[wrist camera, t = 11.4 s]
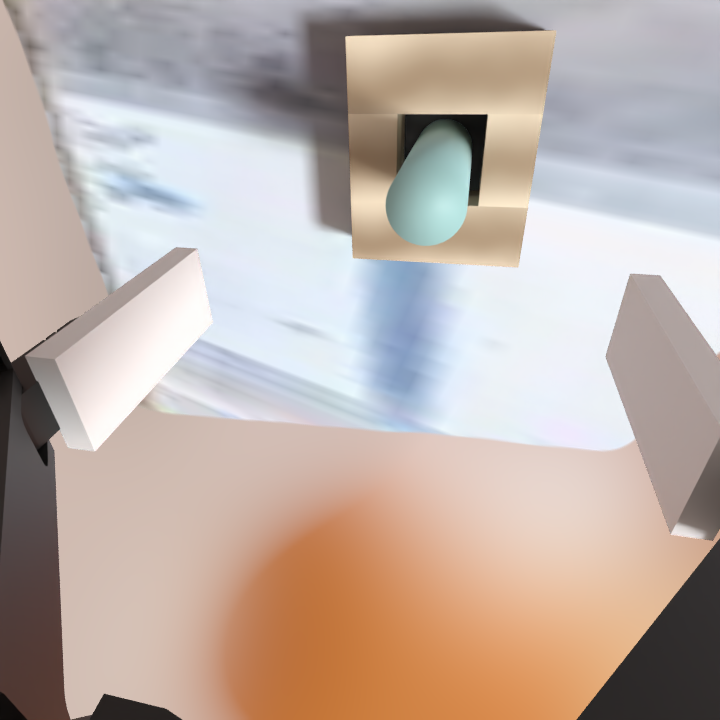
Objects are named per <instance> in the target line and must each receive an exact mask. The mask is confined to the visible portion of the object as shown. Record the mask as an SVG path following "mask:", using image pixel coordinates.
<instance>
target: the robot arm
mask: <svg viewBox="0 0 720 720" xmlns="http://www.w3.org/2000/svg"><path fill="white" fill-rule="evenodd" d="M212 323H213V320H212V316H211V311H210V306H209V301H208V297H207V292H206V287H205V283H204V278H203V273H202V268H201V264H200V259H199V254H198V250H197V249H195V248H178V247H176V248H174V249H173V250H172V251H170V252H169V253H167V254H166V255H165V256H163V257H162V258H160V259H159V260H158V261H156V262H155V263H154V264H152V265H151V266H149V267H148V268H147V269H145V270H144V271H142V272H141V273H140V274H138V275H137V276H135V277H134V278H133V279H131V280H130V281H128V282H127V283H126V284H124V285H123V286H122V287H120V288H119V289H117V290H116V291H115V292H113V293H112V294H110V295H109V296H108V297H106V298H105V299H103V300H102V301H101V302H99V303H98V304H96V305H95V306H94V307H92V308H91V309H90V310H88V311H87V312H85V313H84V314H83V315H81V316H80V317H78V318H75V319H73V320H71V321H69V322H68V323H66V324H65V325H64V326H62V327H61V328H60V329H58V330H57V332H54V333H52V334H51V335H50V336H48V337H47V338H46V340H43V341H41V342H40V343H39V344H37V345H36V346H34V347H33V348H32V349H30V350H29V351H27V352H26V353H24V354H23V355H22V356H20V357H19V358H17V359H16V360H15V361H13V362H12V363H11V362H10V360H9V358H8V356H7V354H6V352H5V350H4V348H3V346H2V344H1V342H0V720H70V717H69V714H68V711H67V707H66V702H65V694H64V676H63V675H64V674H63V650H62V627H61V604H60V603H61V602H60V577H59V555H58V529H57V506H56V481H55V457H54V450H53V447H52V445H51V443H50V441H49V439H50V438H51V437H52V436H53V435H54V434H55V433H56V432H57V431H58V430H60V432H61V433H62V436H63V438H64V440H65V442H66V444H67V446H68V448H74V449H80V450H88V451H96V450H97V449H98V448H99V447H100V445H101V444H102V443H103V442H104V441H105V440H106V439H107V438H108V437H109V436H110V434H111V433H112V432H113V431H114V430H115V429H116V428H117V427H118V426H119V425H120V423H121V422H122V421H123V420H124V419H125V418H126V417H127V416H128V415H129V414H130V413H131V412H132V410H133V409H134V408H135V407H136V406H137V405H138V404H139V403H140V402H141V401H142V400H143V398H144V397H145V396H146V395H147V394H148V393H149V392H150V391H151V390H152V389H153V388H154V386H155V385H156V384H157V383H158V382H159V381H160V380H161V379H162V378H163V377H164V375H165V374H166V373H167V372H168V371H169V370H170V369H171V368H172V367H173V366H174V365H175V363H176V362H177V361H178V360H179V359H180V358H181V357H182V356H183V355H184V354H185V353H186V351H187V350H188V349H189V348H190V347H191V346H192V345H193V344H194V343H195V342H196V340H197V339H198V338H199V337H200V336H201V335H202V334H203V333H204V332H205V331H206V330H207V328H208V327H209V326H210V325H211V324H212ZM605 357H606V359H607V362H608V365H609V367H610V370H611V373H612V376H613V378H614V381H615V384H616V387H617V389H618V392H619V395H620V397H621V400H622V403H623V406H624V408H625V411H626V414H627V417H628V419H629V422H630V425H631V427H632V430H633V433H634V436H635V438H636V441H637V444H638V447H639V449H640V452H641V455H642V457H643V460H644V463H645V466H646V468H647V471H648V474H649V477H650V479H651V482H652V485H653V487H654V490H655V493H656V496H657V498H658V501H659V504H660V507H661V509H662V512H663V515H664V517H665V520H666V523H667V526H668V528H669V531H670V534H671V535H677V536H684V537H691V538H698V539H705V540H712V541H713V540H714V538H715V536H716V534H717V533H718V531H719V529H720V360H719V358H718V357H717V356H716V354H715V353H714V351H713V350H712V349H711V347H710V346H709V344H708V343H707V341H706V340H705V339H704V337H703V336H702V334H701V333H700V331H699V330H698V329H697V327H696V326H695V324H694V323H693V322H692V320H691V319H690V317H689V316H688V314H687V313H686V312H685V310H684V309H683V307H682V306H681V304H680V303H679V302H678V300H677V299H676V297H675V296H674V295H673V293H672V292H671V290H670V289H669V287H668V286H667V285H666V283H665V282H664V280H663V279H662V278H661V276H660V275H643V274H630V276H629V279H628V283H627V286H626V289H625V293H624V296H623V300H622V303H621V306H620V310H619V313H618V316H617V320H616V323H615V326H614V330H613V333H612V336H611V340H610V343H609V346H608V350H607V353H606V356H605ZM72 720H182V719H180V718H179V717H177V716H176V715H174V714H173V713H171V712H170V711H169V710H167V709H165V708H160V707H156V706H152V705H148V704H144V703H140V702H136V701H132V700H128V699H124V698H119V697H115V696H111V695H107V694H104V695H103V697H102V698H101V700H100V702H99V704H98V705H97V707H96V709H95V711H94V712H93V714H92V715H90V716H85V717H81V718H76V719H72ZM577 720H720V539H719V540H718V542H717V543H716V544H715V545H714V547H713V548H712V549H711V550H710V552H709V553H708V554H707V555H706V557H705V558H704V559H703V561H702V562H701V563H700V564H699V566H698V567H697V568H696V569H695V571H694V572H693V573H692V574H691V576H690V577H689V578H688V580H687V581H686V582H685V583H684V585H683V586H682V587H681V588H680V590H679V591H678V592H677V593H676V595H675V596H674V597H673V598H672V600H671V601H670V602H669V604H668V605H667V606H666V607H665V609H664V610H663V611H662V612H661V614H660V615H659V616H658V618H657V619H656V620H655V621H654V623H653V624H652V625H651V626H650V628H649V629H648V630H647V631H646V633H645V634H644V635H643V636H642V638H641V639H640V640H639V641H638V643H637V644H636V645H635V646H634V648H633V649H632V650H631V652H630V653H629V654H628V655H627V657H626V658H625V659H624V661H623V662H622V663H621V664H620V665H619V667H618V668H617V669H616V671H615V672H614V673H613V675H612V676H611V677H610V678H609V679H608V681H607V682H606V683H605V684H604V686H603V687H602V688H601V690H600V691H599V692H598V693H597V695H596V696H595V697H594V698H593V700H592V701H591V702H590V704H589V705H588V706H587V707H586V709H585V710H584V711H583V712H582V713H581V715H580V716H579V717H578V719H577Z"/></svg>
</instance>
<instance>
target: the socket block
mask: <svg viewBox="0 0 720 720" xmlns="http://www.w3.org/2000/svg"><path fill="white" fill-rule="evenodd" d="M555 36H556V31H553V30H543V31H507V32H470V33H433V34H396V35H359V36H345V38H346V68H347V98H348V128H349V158H350V188H351V218H352V248H353V258H359V259H377V260H395V261H413V262H431V263H449V264H467V265H485V266H503V267H518V266H519V260H520V253H521V247H522V241H523V235H524V228H525V222H526V216H527V210H528V204H529V197H530V191H531V185H532V179H533V173H534V166H535V160H536V154H537V148H538V141H539V135H540V129H541V123H542V117H543V110H544V104H545V98H546V92H547V86H548V79H549V73H550V67H551V61H552V54H553V48H554V42H555ZM405 114H487V117H486V127H485V136H484V146H483V156H482V165H481V175H480V184H479V190H469V196H468V207H467V214H466V217H465V220H464V222H463V224H462V226H461V227H460V229H459V230H458V231H457V232H456V233H455V234H454V235H453V236H452V237H451V238H450V239H448V240H446V241H445V242H442V243H440V244H436V245H431V246H421V245H416V244H412V243H410V242H408V241H406V240H404V239H403V238H401V237H400V236H399V235H398V234H397V233H396V232H395V231H394V230H393V228H392V227H391V225H390V223H389V221H388V218H387V214H386V206H385V205H386V197H387V193H388V190H389V188H390V186H391V184H392V182H393V180H394V179H395V177H396V175H397V174H398V172H399V170H400V168H401V167H402V165H403V163H404V144H405Z"/></svg>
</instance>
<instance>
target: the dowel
mask: <svg viewBox="0 0 720 720" xmlns="http://www.w3.org/2000/svg"><path fill="white" fill-rule="evenodd" d="M471 160H472V139H471V136H470V134H469V132H468V130H467V129H466V128H465V127H464V126H463V125H462V124H461V123H459V122H457V121H455V120H451V119H440V120H437V121H434V122H432V123H431V124H429V125H428V126H427V127H426V128H425V129H424V130H423V131H422V133H421V134H420V136H419V138H418V139H417V141H416V143H415V144H414V146H413V148H412V150H411V151H410V153H409V155H408V156H407V158H406V160H405V162H404V163H403V165H402V167H401V168H400V170H399V172H398V174H397V175H396V177H395V179H394V180H393V182H392V184H391V186H390V188H389V190H388V193H387V197H386V205H385V206H386V214H387V218H388V221H389V223H390V225H391V227H392V228H393V230H394V231H395V232H396V233H397V234H398V235H399V236H400V237H401V238H403V239H404V240H406V241H408V242H410V243H412V244H416V245H421V246H431V245H436V244H440V243H442V242H445V241H446V240H448V239H450V238H451V237H452V236H453V235H454V234H455V233H456V232H457V231H458V230H459V229H460V227H461V226H462V224H463V222H464V220H465V217H466V214H467V207H468V196H469V184H470V172H471Z"/></svg>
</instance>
